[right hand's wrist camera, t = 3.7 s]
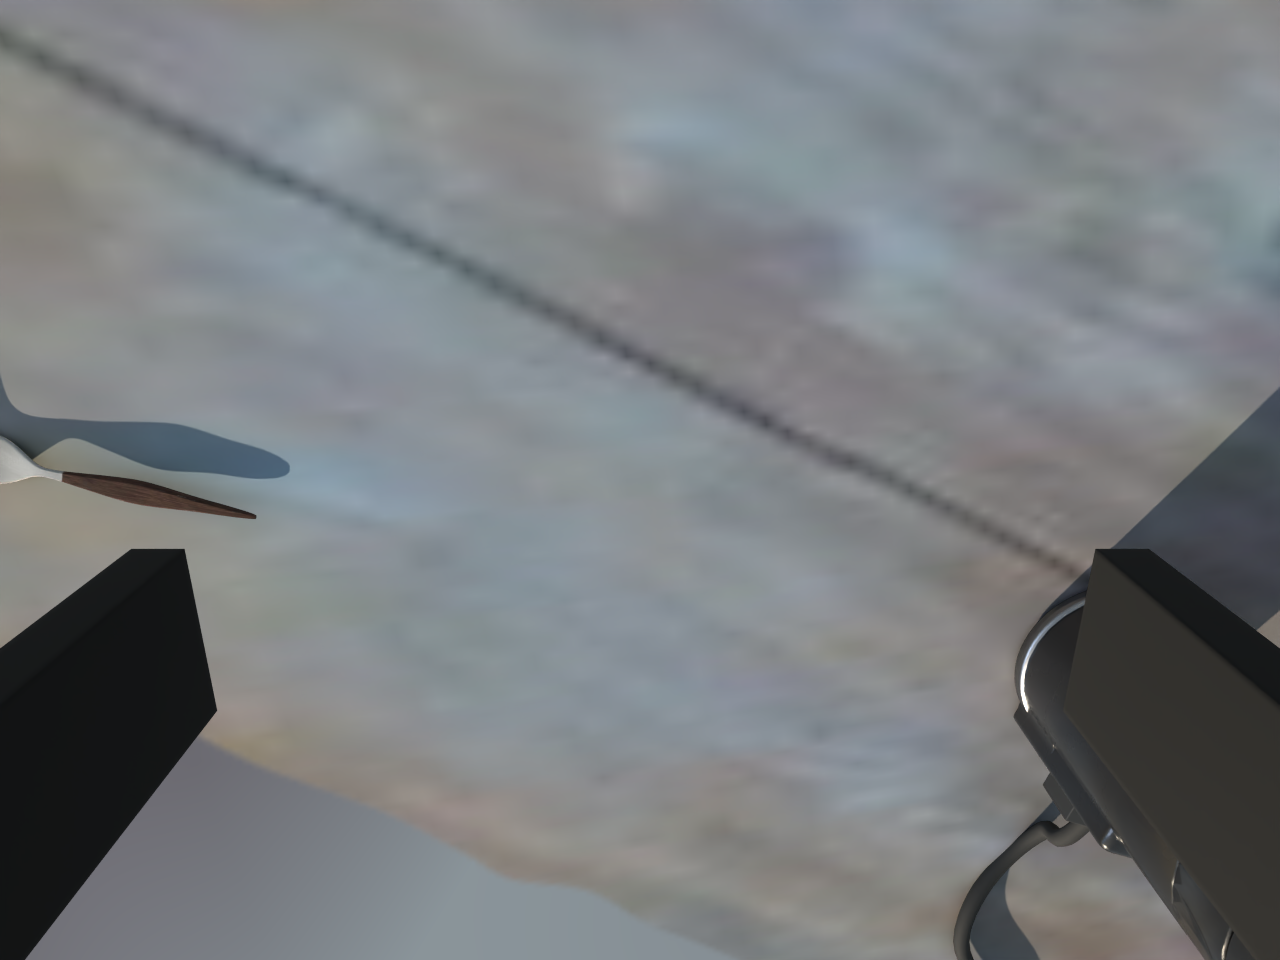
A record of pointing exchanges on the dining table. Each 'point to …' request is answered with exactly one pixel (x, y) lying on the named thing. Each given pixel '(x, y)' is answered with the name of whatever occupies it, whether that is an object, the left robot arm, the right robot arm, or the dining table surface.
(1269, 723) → the right robot arm
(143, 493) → the fork
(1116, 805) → the left robot arm
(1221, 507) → the dining table surface
